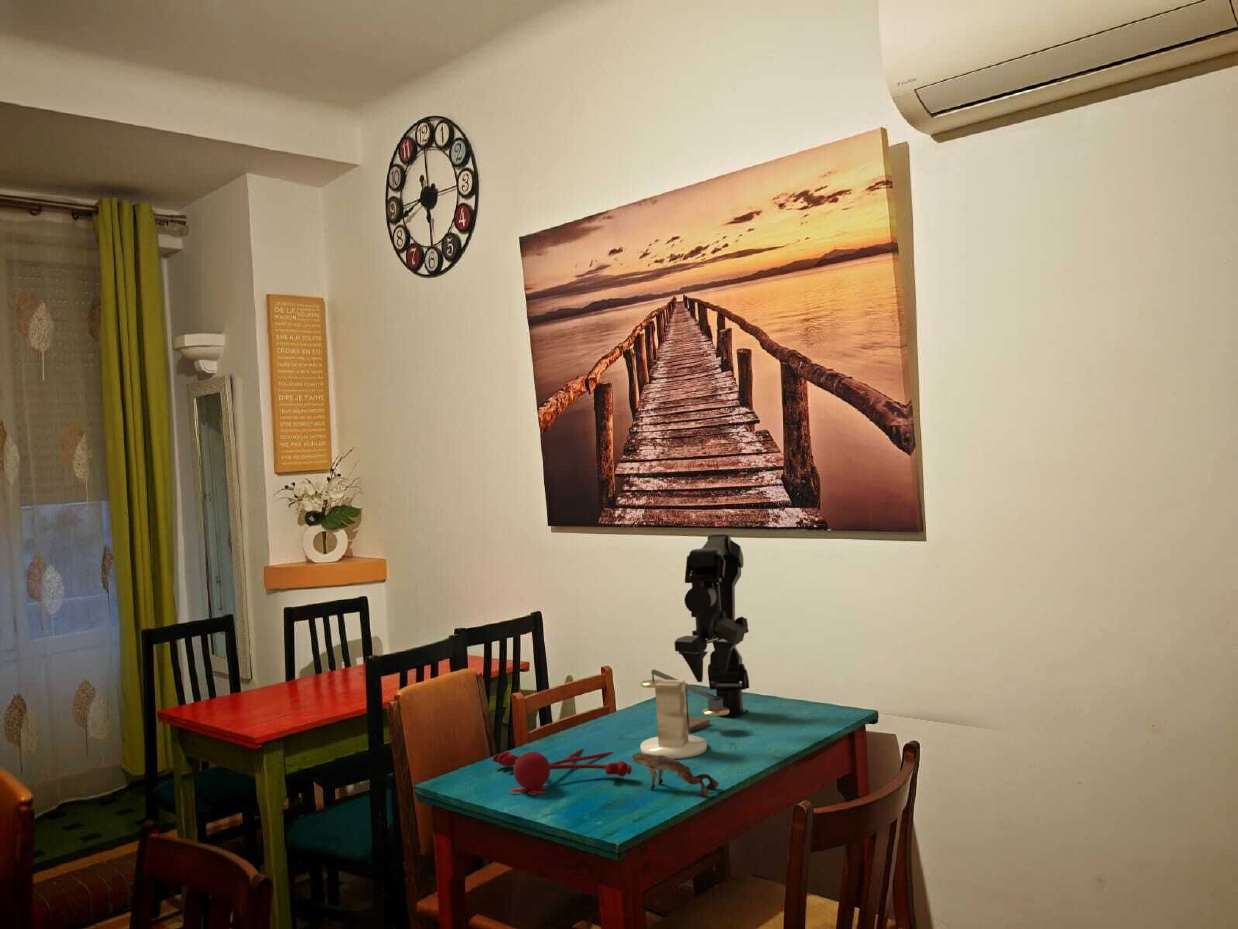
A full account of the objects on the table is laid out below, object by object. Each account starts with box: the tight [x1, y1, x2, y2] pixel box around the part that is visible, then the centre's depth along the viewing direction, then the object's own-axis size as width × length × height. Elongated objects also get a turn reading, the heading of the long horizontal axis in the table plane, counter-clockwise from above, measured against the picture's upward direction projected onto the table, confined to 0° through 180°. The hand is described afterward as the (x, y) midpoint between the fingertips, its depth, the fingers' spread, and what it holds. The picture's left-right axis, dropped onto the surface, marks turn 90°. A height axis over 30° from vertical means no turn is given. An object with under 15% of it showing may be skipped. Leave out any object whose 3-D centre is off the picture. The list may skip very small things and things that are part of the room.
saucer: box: [640, 734, 708, 760], centre depth 217 cm, size 14×14×1 cm
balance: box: [640, 669, 729, 734], centre depth 235 cm, size 8×23×12 cm, turn 50°
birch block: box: [654, 679, 689, 747], centre depth 217 cm, size 5×5×13 cm
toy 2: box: [631, 752, 720, 798], centre depth 192 cm, size 6×9×16 cm
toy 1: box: [492, 748, 633, 796], centre depth 206 cm, size 32×8×30 cm
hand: (712, 677), depth 225 cm, fingers open, 9 cm apart
